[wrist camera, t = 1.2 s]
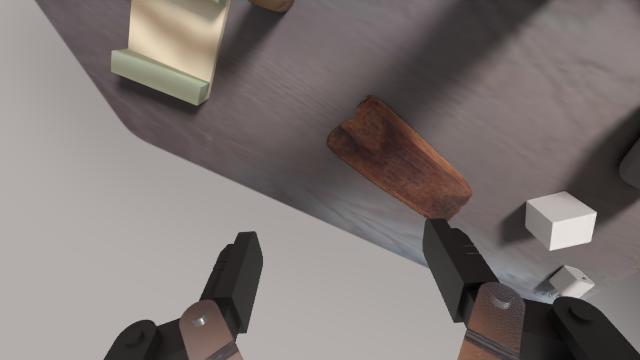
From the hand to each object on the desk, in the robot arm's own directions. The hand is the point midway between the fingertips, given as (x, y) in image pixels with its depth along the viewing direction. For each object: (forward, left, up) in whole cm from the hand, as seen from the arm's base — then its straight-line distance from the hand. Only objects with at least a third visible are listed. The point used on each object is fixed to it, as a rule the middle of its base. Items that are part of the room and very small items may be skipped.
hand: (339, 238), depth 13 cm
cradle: (-1, -20, -28) cm, 34 cm away
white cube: (+2, +42, -28) cm, 51 cm away
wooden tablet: (+5, +16, -29) cm, 33 cm away
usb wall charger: (+14, +58, -28) cm, 66 cm away
